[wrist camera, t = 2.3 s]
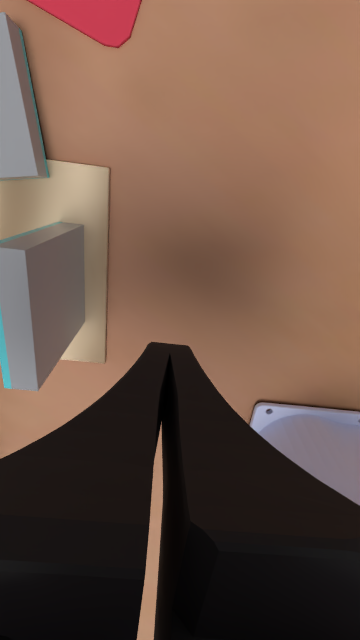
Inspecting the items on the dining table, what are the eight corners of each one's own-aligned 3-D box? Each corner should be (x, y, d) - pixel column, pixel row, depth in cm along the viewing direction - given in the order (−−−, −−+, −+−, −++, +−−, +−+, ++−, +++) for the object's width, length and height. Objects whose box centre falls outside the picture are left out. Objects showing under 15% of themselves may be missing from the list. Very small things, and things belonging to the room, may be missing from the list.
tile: (83, 224, 17) (25, 250, 10) (85, 321, 19) (37, 391, 13) (58, 221, 17) (-17, 245, 10) (62, 319, 19) (4, 388, 13)
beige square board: (110, 168, 16) (108, 167, 16) (105, 361, 21) (104, 363, 20) (-129, 135, 15) (-135, 135, 15) (-75, 343, 20) (-78, 345, 20)
